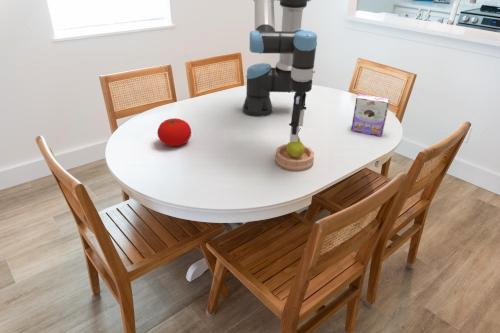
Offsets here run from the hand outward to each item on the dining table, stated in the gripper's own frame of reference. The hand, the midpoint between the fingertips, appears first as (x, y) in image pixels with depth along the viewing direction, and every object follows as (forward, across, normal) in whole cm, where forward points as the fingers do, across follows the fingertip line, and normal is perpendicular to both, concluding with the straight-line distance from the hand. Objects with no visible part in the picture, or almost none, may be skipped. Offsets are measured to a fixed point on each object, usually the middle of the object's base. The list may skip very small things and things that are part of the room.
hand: (296, 133), depth 141 cm
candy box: (+13, +36, -28) cm, 48 cm away
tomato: (+13, 0, +51) cm, 52 cm away
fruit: (+10, -1, 0) cm, 10 cm away
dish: (+12, -1, 0) cm, 12 cm away
